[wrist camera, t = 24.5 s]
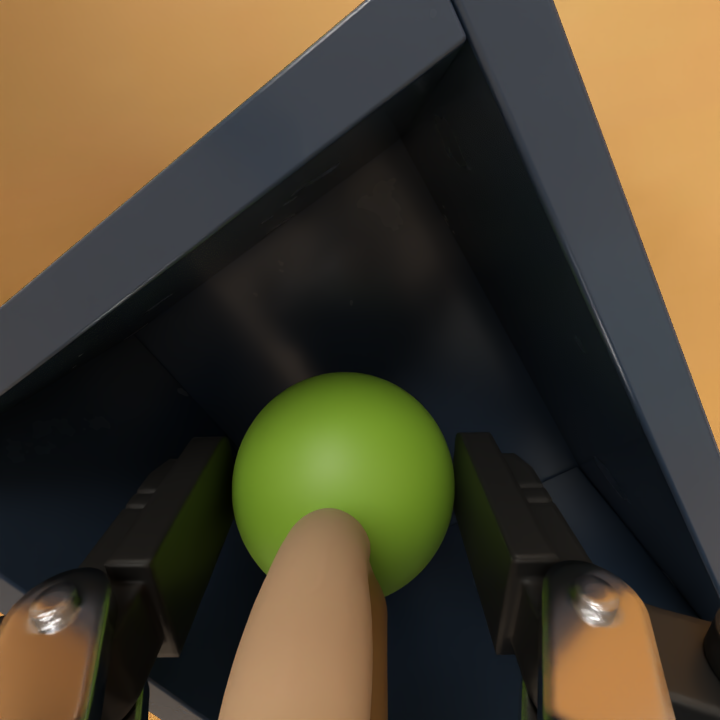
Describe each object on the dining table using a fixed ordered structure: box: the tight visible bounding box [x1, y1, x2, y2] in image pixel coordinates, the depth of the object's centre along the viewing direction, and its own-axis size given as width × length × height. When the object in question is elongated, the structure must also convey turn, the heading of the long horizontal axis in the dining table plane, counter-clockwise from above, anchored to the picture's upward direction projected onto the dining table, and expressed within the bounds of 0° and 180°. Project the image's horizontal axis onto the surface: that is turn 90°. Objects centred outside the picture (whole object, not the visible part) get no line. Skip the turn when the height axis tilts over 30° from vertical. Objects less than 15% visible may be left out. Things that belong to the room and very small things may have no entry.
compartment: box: [0, 0, 720, 720], centre depth 12 cm, size 16×13×9 cm
